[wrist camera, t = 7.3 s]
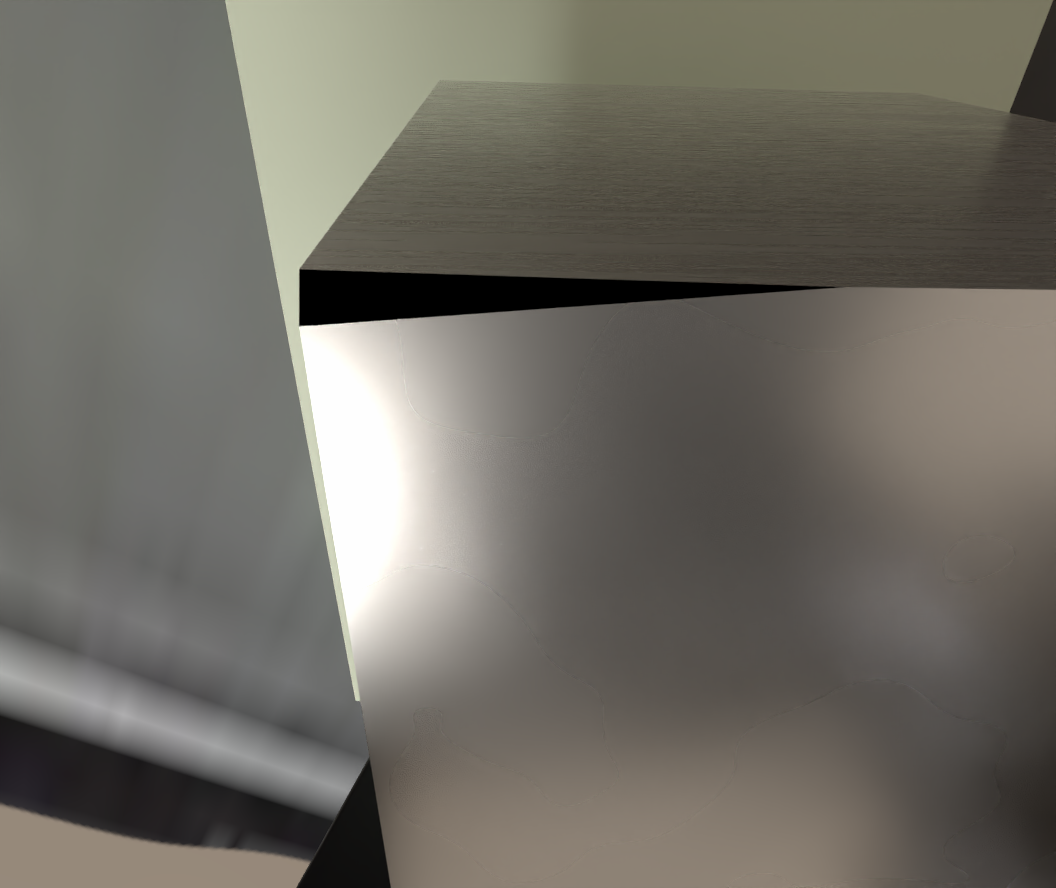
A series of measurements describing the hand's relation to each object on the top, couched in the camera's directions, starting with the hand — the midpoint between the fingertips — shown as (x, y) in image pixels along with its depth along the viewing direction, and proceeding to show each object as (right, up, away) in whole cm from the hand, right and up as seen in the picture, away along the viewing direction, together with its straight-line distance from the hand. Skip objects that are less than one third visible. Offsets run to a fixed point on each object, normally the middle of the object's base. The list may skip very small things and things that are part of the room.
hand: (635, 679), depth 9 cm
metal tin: (0, +2, +1) cm, 2 cm away
